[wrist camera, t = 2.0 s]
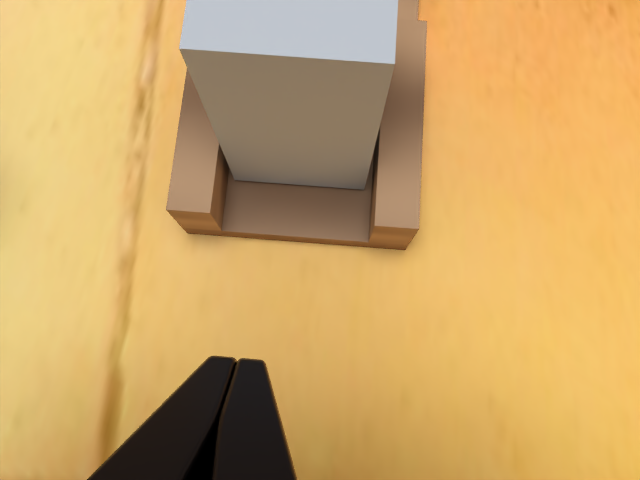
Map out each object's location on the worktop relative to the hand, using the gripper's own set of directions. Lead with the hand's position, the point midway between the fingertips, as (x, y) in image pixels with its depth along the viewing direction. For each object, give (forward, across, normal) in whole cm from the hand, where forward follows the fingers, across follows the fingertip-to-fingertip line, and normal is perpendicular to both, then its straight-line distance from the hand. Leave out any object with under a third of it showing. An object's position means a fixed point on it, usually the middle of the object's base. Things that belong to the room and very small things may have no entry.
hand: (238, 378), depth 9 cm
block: (+15, 0, +1) cm, 15 cm away
